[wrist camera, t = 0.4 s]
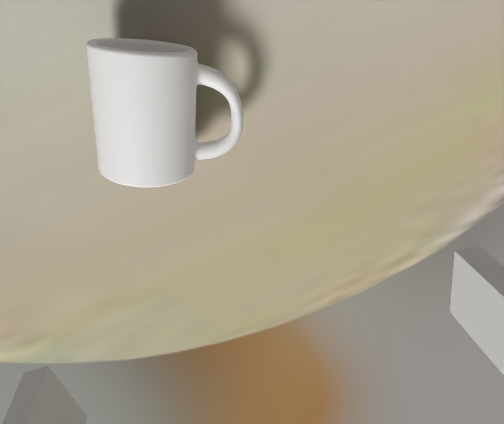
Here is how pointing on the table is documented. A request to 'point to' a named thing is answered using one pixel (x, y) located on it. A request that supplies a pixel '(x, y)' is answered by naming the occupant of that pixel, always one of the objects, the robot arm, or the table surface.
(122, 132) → the mug
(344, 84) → the table surface
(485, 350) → the robot arm
